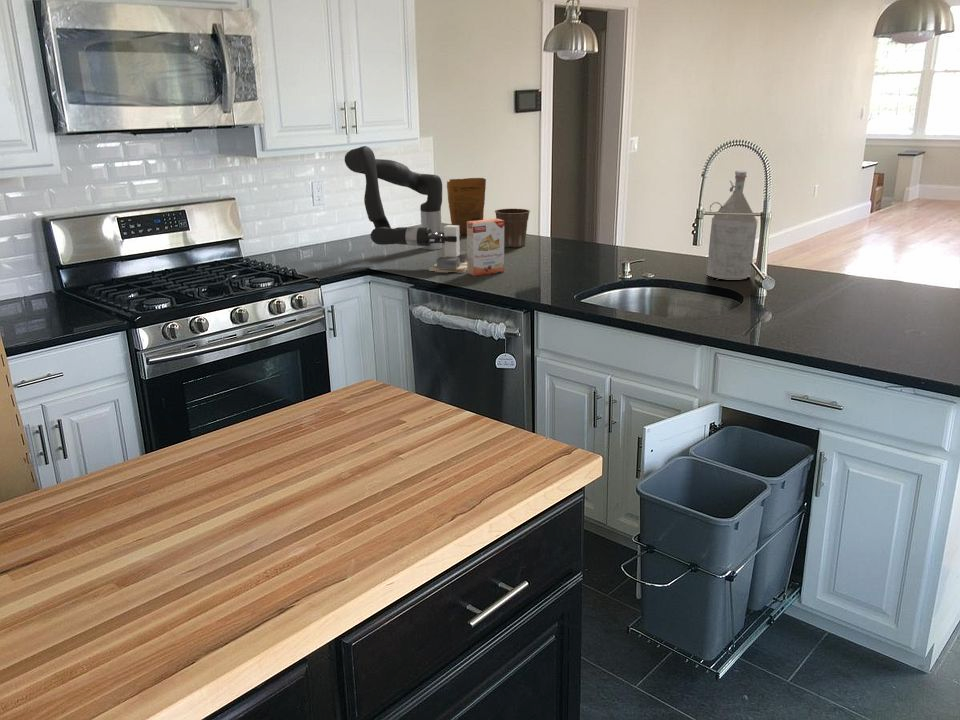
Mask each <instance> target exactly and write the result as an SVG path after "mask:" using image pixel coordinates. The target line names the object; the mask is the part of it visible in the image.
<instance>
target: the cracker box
mask: <svg viewBox="0 0 960 720" xmlns="http://www.w3.org/2000/svg"><path fill="white" fill-rule="evenodd" d="M466 252H467V274H468V275H470V276H473V277H478V276H485V275H491V273H493V274H497V273H496V272H501V273H504V272H505V247H504V220H501V219H496V218H490V219H483V220H478V221H467V235H466ZM484 274H485V275H484ZM477 275H478V276H477Z"/></svg>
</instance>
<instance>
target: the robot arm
mask: <svg viewBox="0 0 960 720" xmlns="http://www.w3.org/2000/svg"><path fill="white" fill-rule="evenodd" d="M374 153H375V152H374V151H373V150H372V149H371V148H370V146H366V145H364V146H360V147H357V148H353V149H350V150H349V151H348V152H346V154H345V155H344V163H345V166H346V167H347V168H348V169H349V170H350V171H351V172H354V173H356V174H357V173H358V174H363V175H364V176H365V190H364V199H363V200H364V201H363V202H364V207H365V211H366V215H367V218H368V220H369V222H371V223H373V226H374V229H372V231H371V232H370V239H371V241H372V242H373V243H374V244H376V245H380V246H382V245H384V246H385V245H403V246H404V245H405V246H406V245H407V246H408V245H409V246H413V247H415V246H416V247H418V246H419V247H421V248H422V249H423V250H427V251H428V250H432V251H433V250H440V249H441V250H442V248H443V244H445V243H446V242H447V241H448V242H457V237H456V236H448V237H447V236H444V231H442V230H443V229H442V212H441V211H442V204H443V182H442V181H443V180H442V179H441V177H440V176H439V175H437V174H431V173H430V174H429V173H420V172H415V171H412V170H410V168H409V167H408V166H407V165H406V164H404V163H401V162H398V161H396V160H392V159H391V160H390V159H381V158H376V156H375V154H374ZM379 180H382V181H384V182H387V183H389V184H393V185H397V186H400V187H404V188H408V189H410V190H412V191H414V192H416V193H418V194H419V195H423V196H427V198H426V201H425V202H423V203H420V205H419V206H420V226H421V227H420V226H419V227H418V226H412V227H411V226H410V227H404V226H401V227H400V226H399V227H395V228H394V227H393V228H392V227H391V224H390V222H389V220H388V218H387V216H386V213H385V210H384V205H383V202H382V199H381V194H380V187H379ZM459 236H460V240H462V238H461V237H462V235H459Z"/></svg>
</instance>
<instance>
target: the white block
mask: <svg viewBox="0 0 960 720" xmlns="http://www.w3.org/2000/svg"><path fill="white" fill-rule="evenodd" d="M443 229H444V230H443V232H444V236H447V237H448V236H456V237H457V242H448V241H447V242H446V243H444V257H446V256H448V257H457V256H459V255H460V251H461V248H460V247H461V246H460V245H461V244H460V242H461V241H460V240H461V239H460V236H459V235H460V234H459V225H452V224H447V225H445V226H443Z"/></svg>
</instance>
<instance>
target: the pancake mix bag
mask: <svg viewBox="0 0 960 720" xmlns="http://www.w3.org/2000/svg"><path fill="white" fill-rule="evenodd" d="M486 184H487V179H486V178H484V177H469V178H451V179H449V181H446V190H447V202H448V210H449V214H450V216H449V217H450V223H451V224H450V225H459V234H460V235H461V236H467V221H478V220H484V211H485V201H486V188H487V187H486Z"/></svg>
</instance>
